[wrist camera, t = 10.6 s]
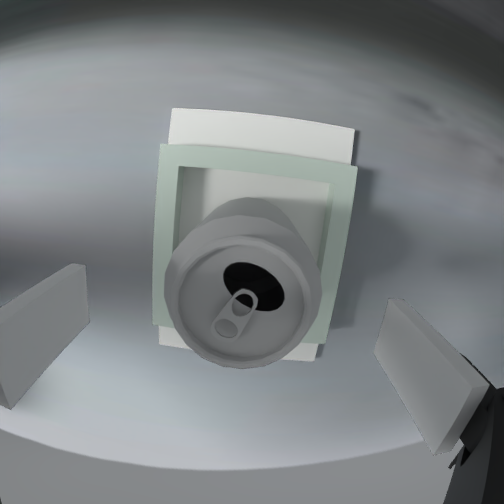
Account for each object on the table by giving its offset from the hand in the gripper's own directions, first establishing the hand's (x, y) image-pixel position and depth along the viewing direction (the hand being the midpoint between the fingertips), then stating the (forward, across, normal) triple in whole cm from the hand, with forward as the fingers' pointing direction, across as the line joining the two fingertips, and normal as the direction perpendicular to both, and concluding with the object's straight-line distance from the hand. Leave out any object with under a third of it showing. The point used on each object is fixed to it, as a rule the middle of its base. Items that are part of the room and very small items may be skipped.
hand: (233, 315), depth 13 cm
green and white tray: (+13, +1, 0) cm, 13 cm away
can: (+13, 0, 0) cm, 13 cm away
